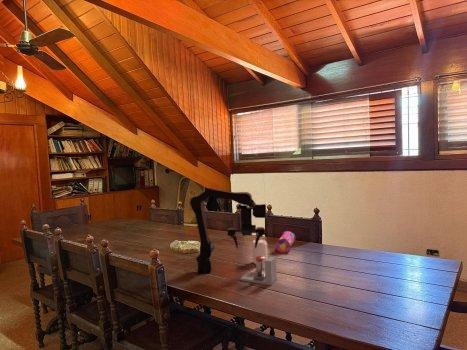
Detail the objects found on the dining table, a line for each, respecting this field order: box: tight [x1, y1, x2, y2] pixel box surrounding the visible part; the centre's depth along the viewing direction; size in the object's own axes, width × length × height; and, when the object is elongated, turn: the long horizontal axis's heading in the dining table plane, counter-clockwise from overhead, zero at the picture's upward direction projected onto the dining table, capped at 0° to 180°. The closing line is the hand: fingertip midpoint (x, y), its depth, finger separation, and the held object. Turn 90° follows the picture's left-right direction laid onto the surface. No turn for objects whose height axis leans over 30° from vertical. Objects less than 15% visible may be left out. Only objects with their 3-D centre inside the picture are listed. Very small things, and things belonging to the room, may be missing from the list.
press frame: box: [240, 256, 278, 286], centre depth 160 cm, size 16×17×11 cm
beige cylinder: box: [251, 239, 269, 265], centre depth 181 cm, size 8×8×12 cm
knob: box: [254, 255, 266, 272], centre depth 165 cm, size 6×6×7 cm
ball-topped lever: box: [254, 256, 266, 280], centre depth 155 cm, size 5×4×10 cm
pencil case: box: [276, 230, 296, 254], centre depth 206 cm, size 22×9×9 cm, turn 163°
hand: (246, 248), depth 167 cm, fingers open, 9 cm apart
